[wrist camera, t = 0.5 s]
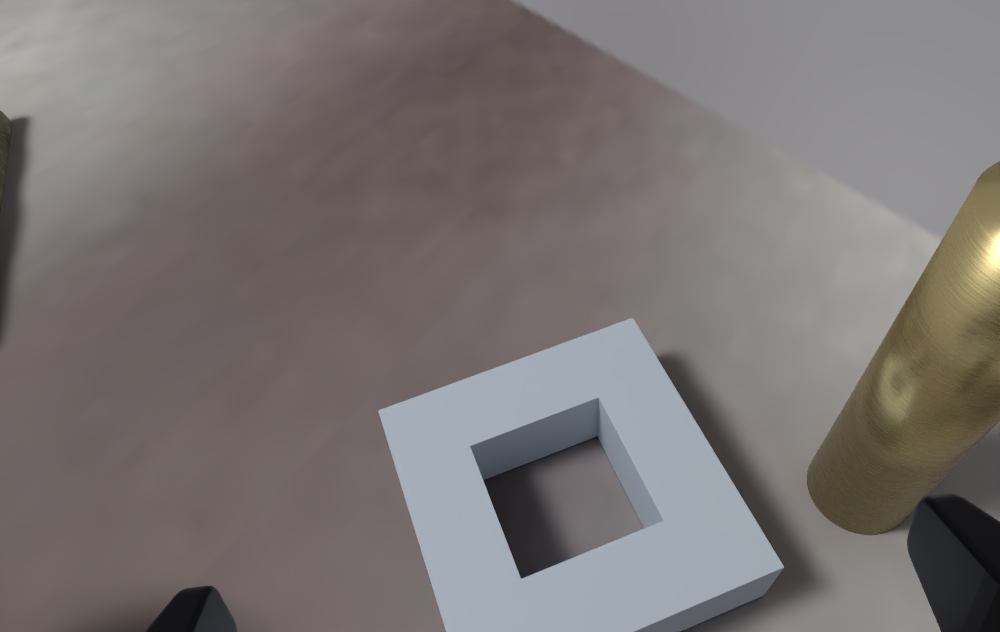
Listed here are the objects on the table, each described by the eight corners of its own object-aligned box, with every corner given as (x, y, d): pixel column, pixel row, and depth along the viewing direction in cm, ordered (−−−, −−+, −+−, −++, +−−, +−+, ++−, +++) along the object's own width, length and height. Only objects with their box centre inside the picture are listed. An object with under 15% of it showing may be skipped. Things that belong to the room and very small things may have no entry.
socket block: (764, 595, 24) (784, 567, 22) (480, 718, 23) (468, 702, 20) (628, 360, 30) (632, 317, 28) (395, 447, 29) (378, 410, 26)
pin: (931, 512, 25) (1210, 242, 14) (845, 549, 25) (1063, 300, 14) (868, 430, 27) (1069, 136, 16) (787, 463, 27) (936, 183, 16)
